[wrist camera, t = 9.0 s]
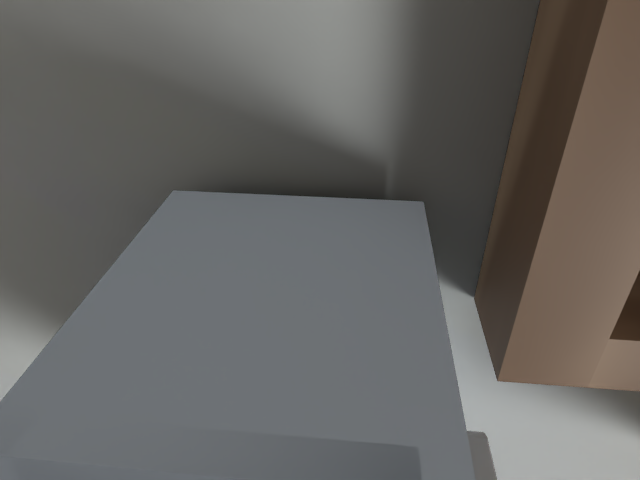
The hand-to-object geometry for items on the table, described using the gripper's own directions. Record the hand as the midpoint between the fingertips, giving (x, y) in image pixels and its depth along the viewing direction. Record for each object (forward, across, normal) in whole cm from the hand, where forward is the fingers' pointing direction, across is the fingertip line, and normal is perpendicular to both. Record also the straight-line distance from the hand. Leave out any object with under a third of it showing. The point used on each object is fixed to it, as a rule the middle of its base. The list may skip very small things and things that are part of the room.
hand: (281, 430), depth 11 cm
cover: (+3, 0, 0) cm, 3 cm away
